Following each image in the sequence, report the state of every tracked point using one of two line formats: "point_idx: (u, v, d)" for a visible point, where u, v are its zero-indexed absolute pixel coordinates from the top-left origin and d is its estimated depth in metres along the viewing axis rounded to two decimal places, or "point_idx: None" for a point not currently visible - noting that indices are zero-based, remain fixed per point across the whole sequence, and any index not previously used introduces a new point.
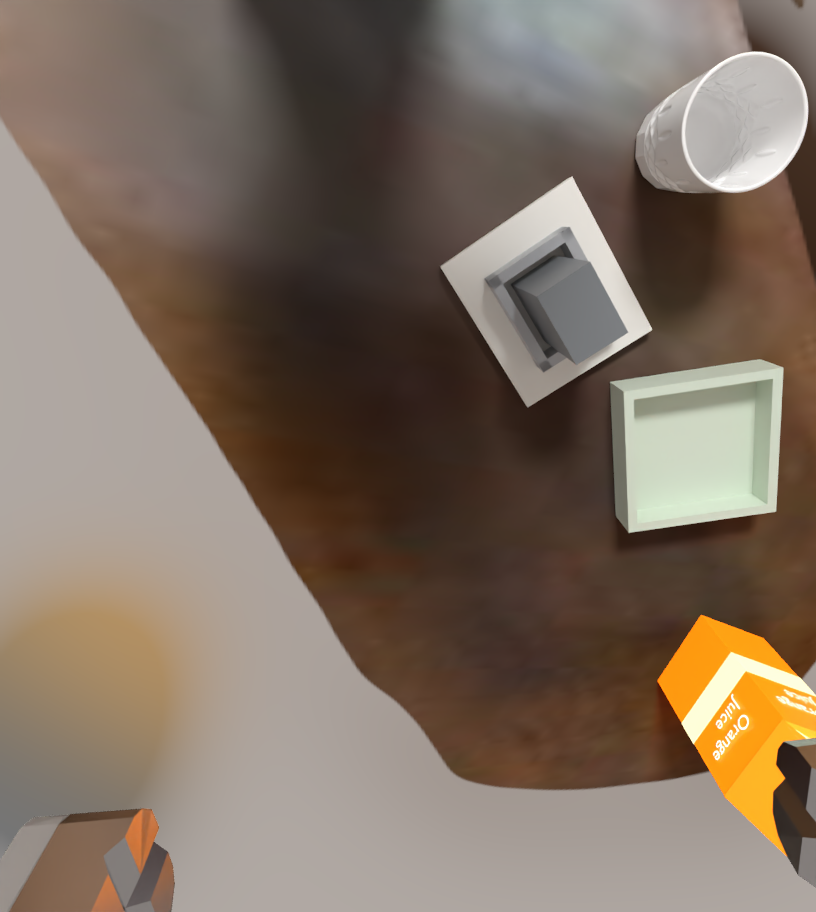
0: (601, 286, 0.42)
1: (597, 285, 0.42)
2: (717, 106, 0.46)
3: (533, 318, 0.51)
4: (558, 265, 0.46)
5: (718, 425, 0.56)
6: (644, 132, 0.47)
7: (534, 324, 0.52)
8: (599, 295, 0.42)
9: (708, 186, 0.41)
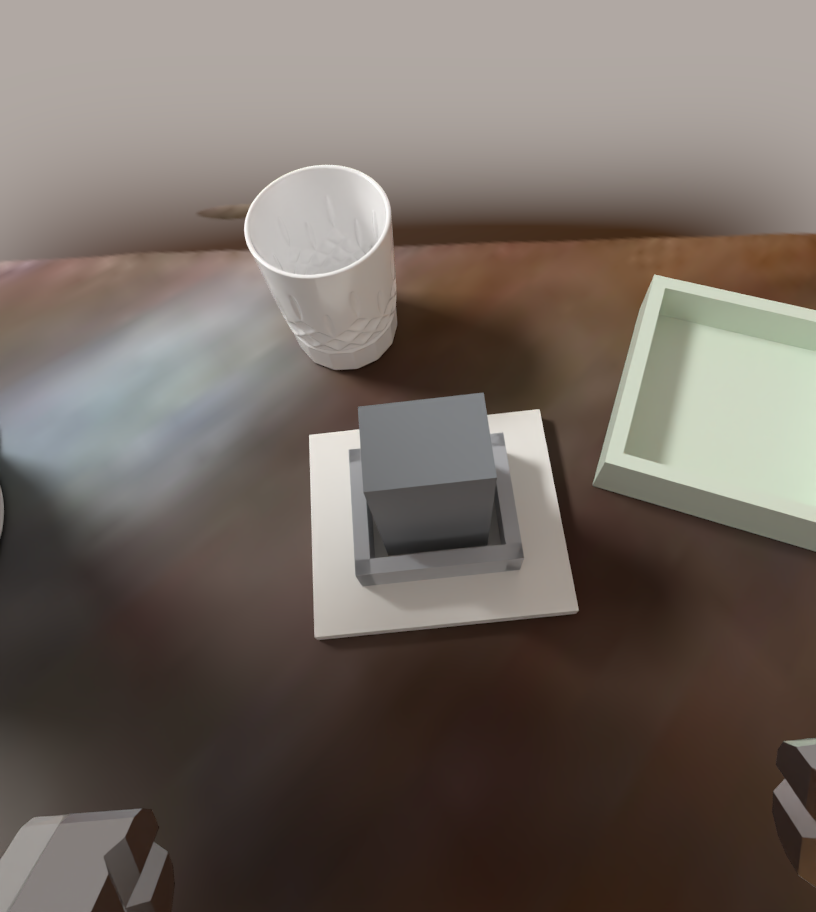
0: (399, 404, 0.28)
1: (394, 408, 0.28)
2: None
3: (441, 540, 0.33)
4: None
5: (715, 372, 0.38)
6: (307, 347, 0.40)
7: (457, 547, 0.35)
8: (409, 411, 0.27)
9: (359, 265, 0.32)
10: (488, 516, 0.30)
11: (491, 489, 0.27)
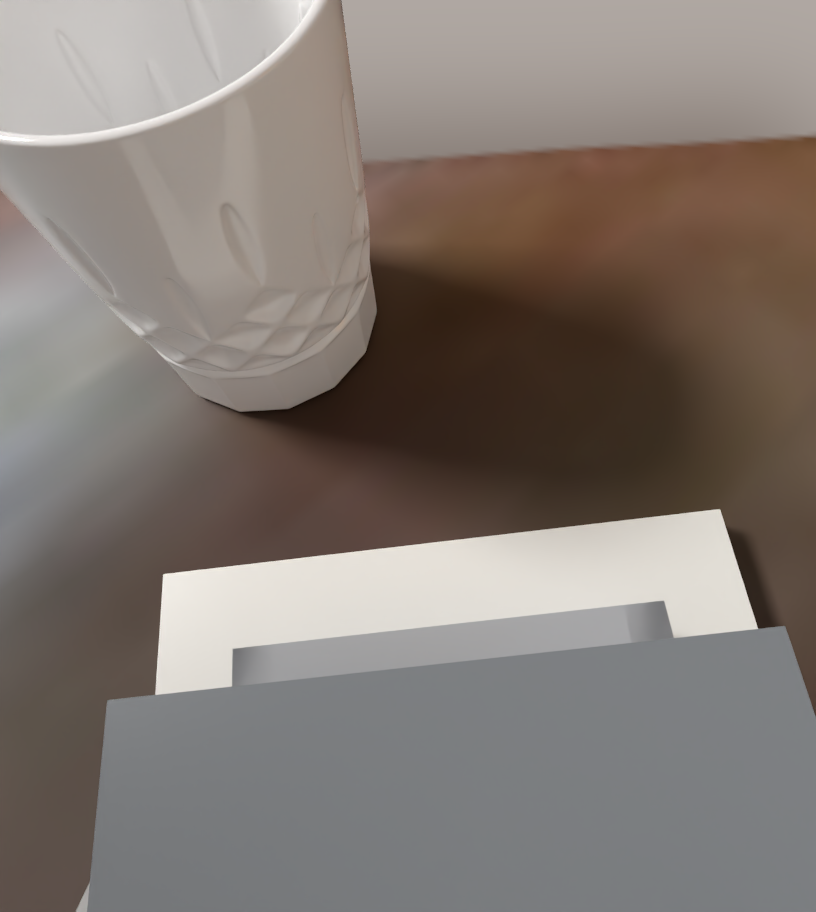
0: (324, 692, 0.05)
1: (299, 720, 0.05)
2: None
3: None
4: None
5: None
6: (170, 364, 0.18)
7: None
8: (378, 739, 0.05)
9: (228, 104, 0.10)
10: None
11: None
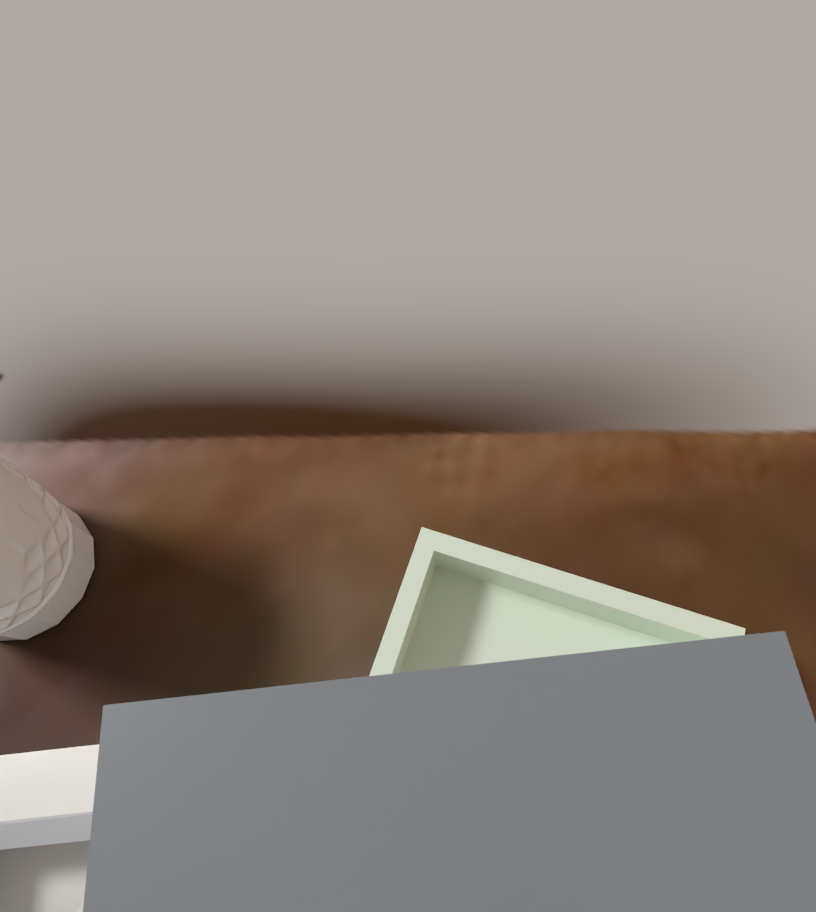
0: (321, 697, 0.05)
1: (296, 725, 0.05)
2: None
3: None
4: None
5: None
6: None
7: None
8: (375, 744, 0.05)
9: None
10: None
11: None
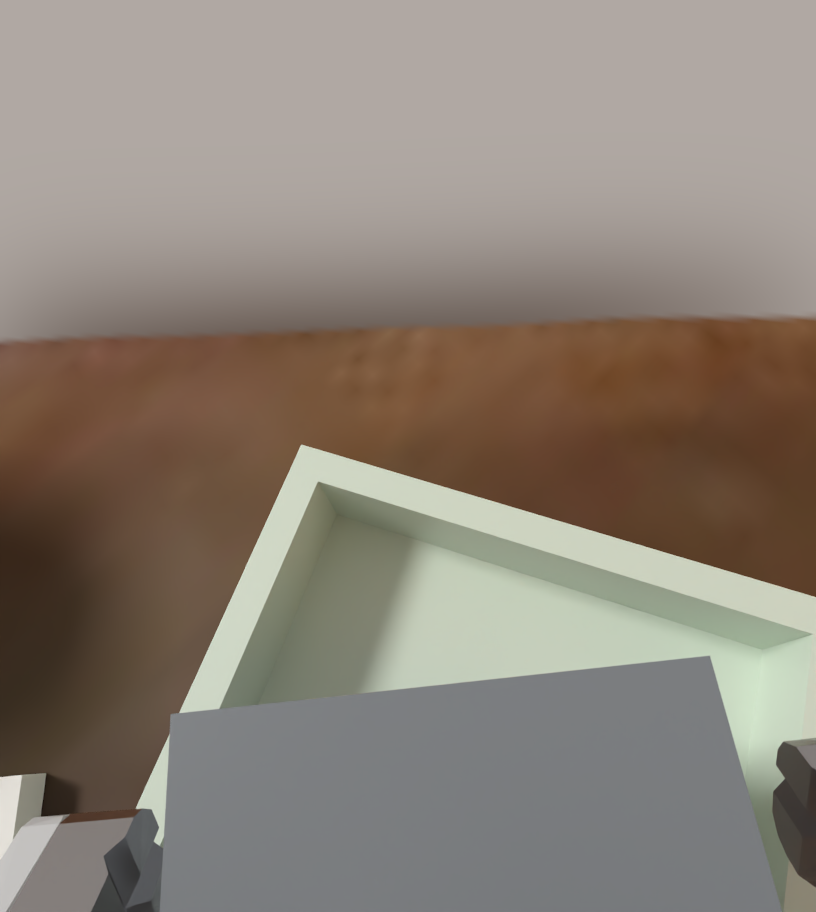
0: (344, 707, 0.06)
1: (325, 730, 0.06)
2: None
3: None
4: None
5: (447, 679, 0.16)
6: None
7: None
8: (388, 745, 0.06)
9: None
10: None
11: None
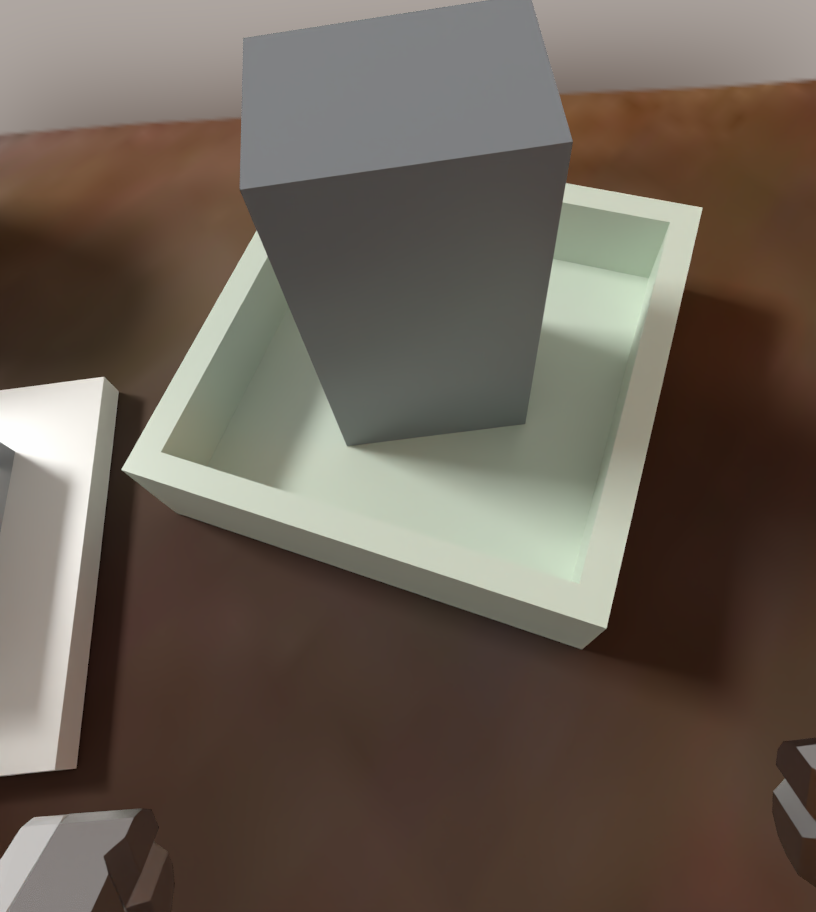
0: (336, 27, 0.12)
1: (326, 35, 0.12)
2: None
3: (441, 406, 0.18)
4: None
5: None
6: None
7: (471, 428, 0.19)
8: (359, 37, 0.12)
9: None
10: (535, 325, 0.15)
11: (553, 205, 0.11)
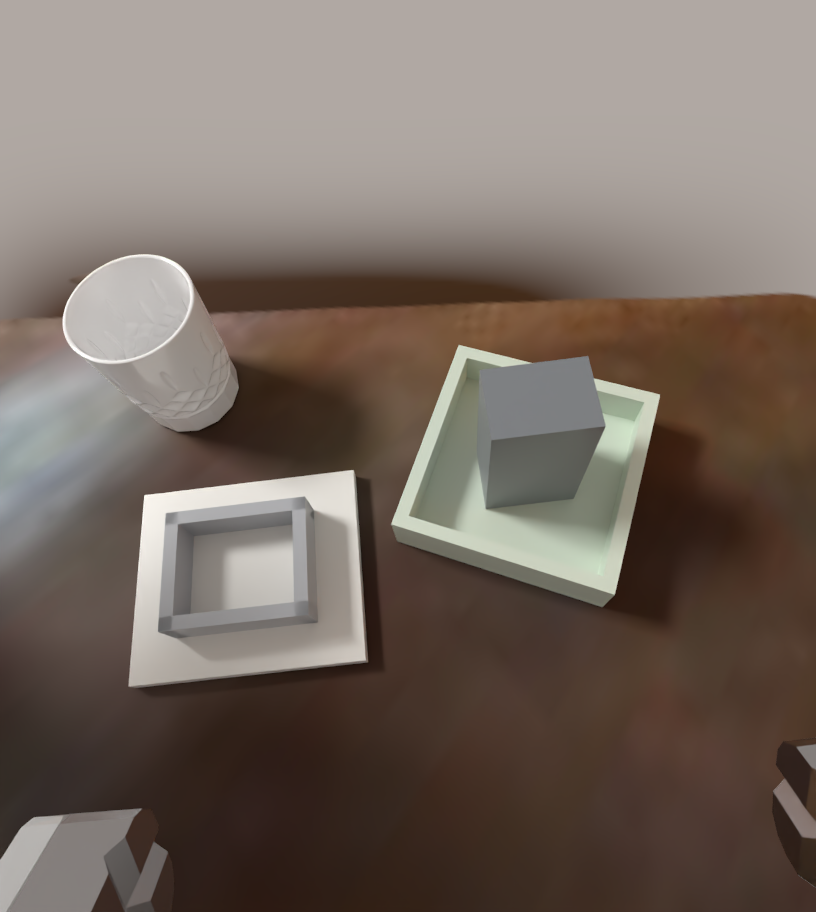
0: (515, 367, 0.32)
1: (512, 371, 0.32)
2: None
3: (536, 493, 0.38)
4: (480, 430, 0.37)
5: None
6: None
7: (547, 501, 0.39)
8: (525, 372, 0.32)
9: (159, 351, 0.36)
10: (585, 467, 0.35)
11: (597, 438, 0.32)
